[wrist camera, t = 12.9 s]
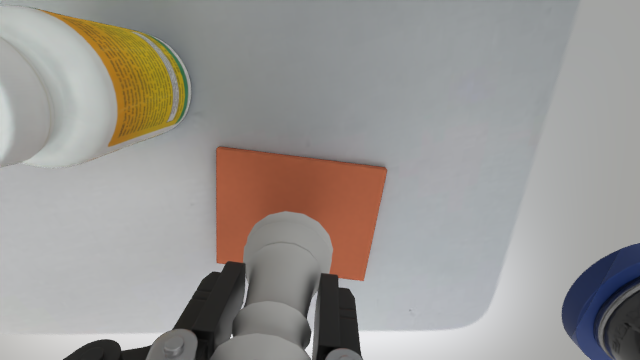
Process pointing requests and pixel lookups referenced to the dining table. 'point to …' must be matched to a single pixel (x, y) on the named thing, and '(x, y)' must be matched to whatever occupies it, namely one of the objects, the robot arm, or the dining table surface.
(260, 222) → the rook chess piece
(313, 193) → the mat
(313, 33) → the dining table surface
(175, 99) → the supplement bottle
